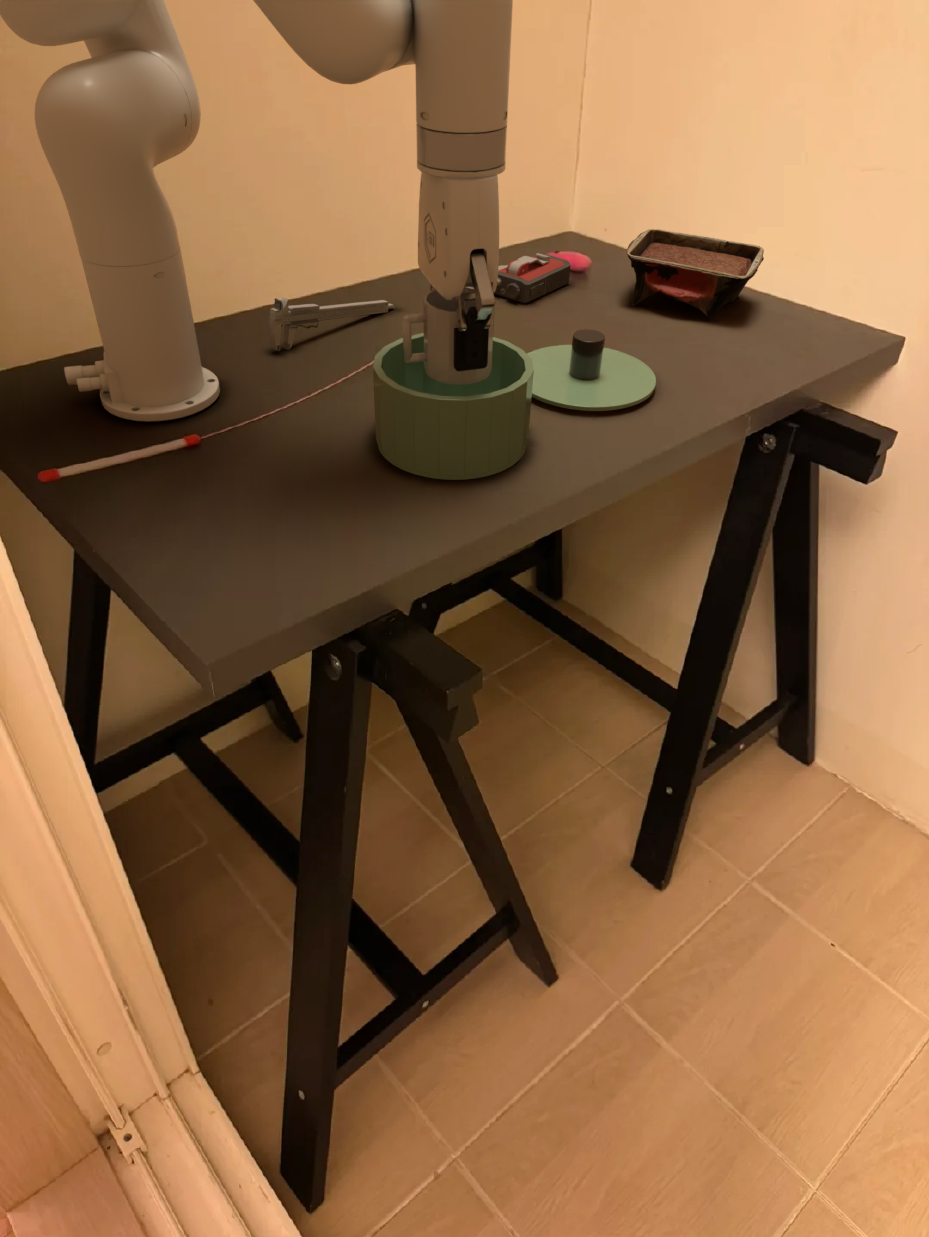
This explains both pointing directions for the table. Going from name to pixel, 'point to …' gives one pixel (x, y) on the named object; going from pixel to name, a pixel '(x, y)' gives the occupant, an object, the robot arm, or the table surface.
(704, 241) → the baking dish
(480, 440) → the pot
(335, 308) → the caliper
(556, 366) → the pot lid
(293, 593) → the table surface
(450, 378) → the mug
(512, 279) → the walkie-talkie
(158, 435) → the table surface
